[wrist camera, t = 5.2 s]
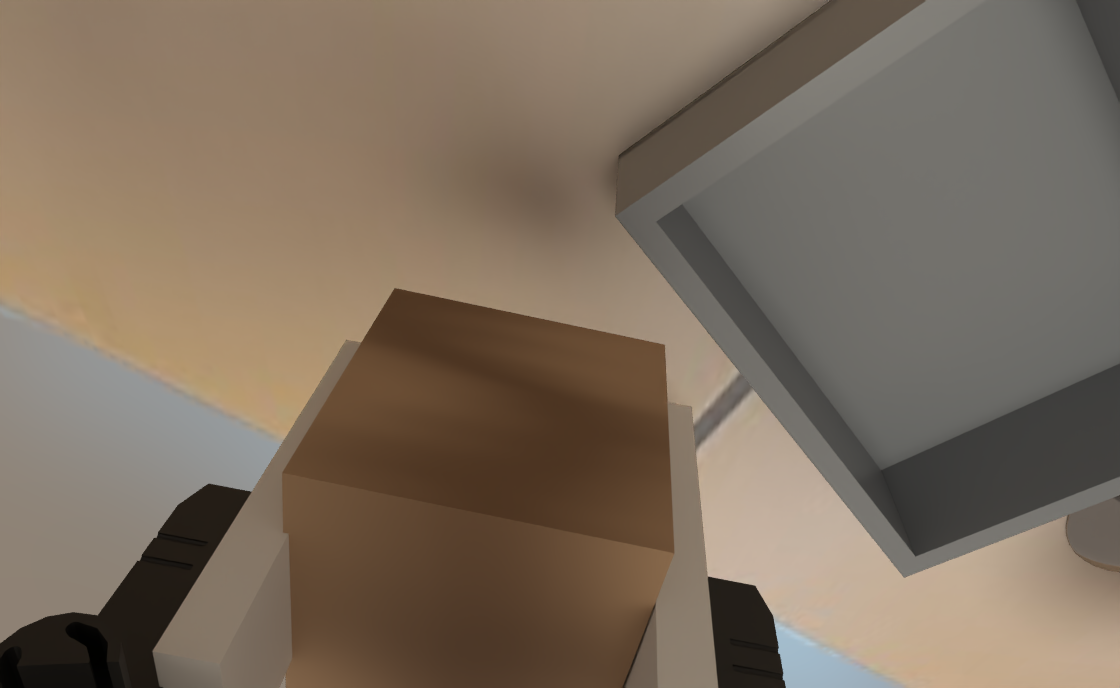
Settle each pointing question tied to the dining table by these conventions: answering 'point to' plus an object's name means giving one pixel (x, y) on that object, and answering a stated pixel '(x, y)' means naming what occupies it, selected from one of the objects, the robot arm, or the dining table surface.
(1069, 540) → the wine glass
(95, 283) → the dining table surface
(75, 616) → the robot arm
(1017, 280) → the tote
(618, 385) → the walnut cube
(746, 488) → the dining table surface
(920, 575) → the dining table surface
